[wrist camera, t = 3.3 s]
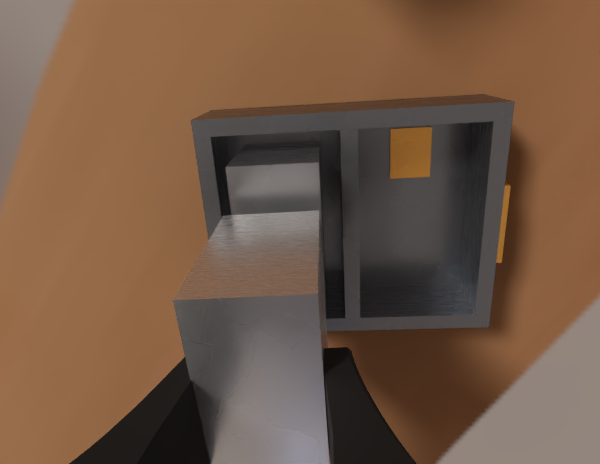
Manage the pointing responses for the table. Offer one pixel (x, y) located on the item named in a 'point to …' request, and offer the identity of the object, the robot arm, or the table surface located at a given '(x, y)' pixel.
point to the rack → (376, 198)
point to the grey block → (259, 339)
